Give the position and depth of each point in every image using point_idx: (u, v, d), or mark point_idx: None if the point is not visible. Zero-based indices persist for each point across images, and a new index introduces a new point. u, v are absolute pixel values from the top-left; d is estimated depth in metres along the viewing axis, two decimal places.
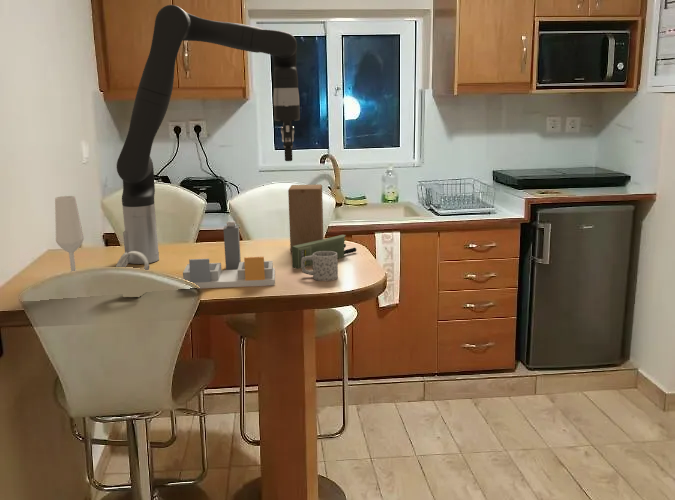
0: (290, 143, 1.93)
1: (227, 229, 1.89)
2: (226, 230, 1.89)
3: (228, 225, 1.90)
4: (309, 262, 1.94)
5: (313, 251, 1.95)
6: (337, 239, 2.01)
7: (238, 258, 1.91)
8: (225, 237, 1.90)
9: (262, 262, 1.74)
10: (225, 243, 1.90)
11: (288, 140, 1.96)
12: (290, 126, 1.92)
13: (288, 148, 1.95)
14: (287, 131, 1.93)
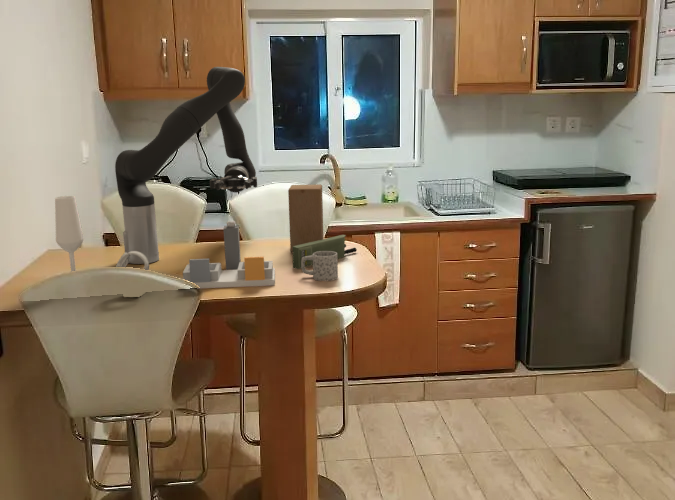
0: None
1: (227, 229, 1.89)
2: (226, 230, 1.89)
3: (228, 225, 1.90)
4: (310, 262, 1.94)
5: (314, 252, 1.95)
6: (337, 239, 2.01)
7: (238, 258, 1.91)
8: (225, 237, 1.90)
9: (262, 262, 1.74)
10: (225, 243, 1.90)
11: None
12: None
13: (251, 183, 2.04)
14: None
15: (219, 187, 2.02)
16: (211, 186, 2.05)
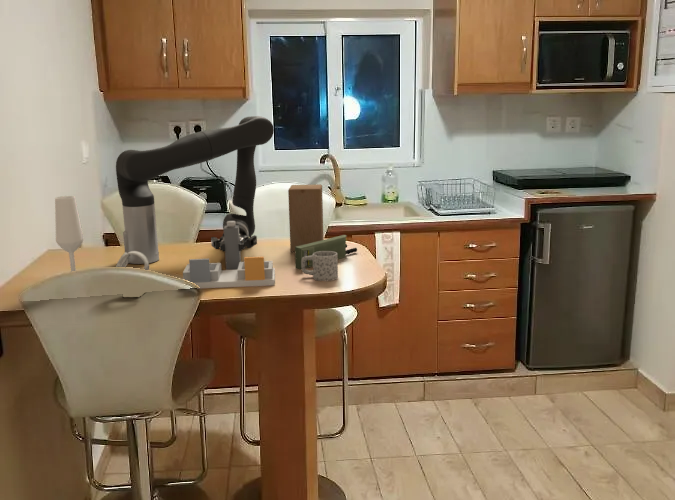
0: (250, 245, 1.95)
1: (227, 229, 1.89)
2: (226, 230, 1.89)
3: (228, 225, 1.90)
4: (312, 263, 1.93)
5: None
6: (339, 239, 2.01)
7: (238, 258, 1.91)
8: (225, 237, 1.90)
9: (262, 262, 1.74)
10: (225, 243, 1.90)
11: None
12: (256, 242, 2.00)
13: (244, 244, 1.94)
14: (254, 240, 1.98)
15: None
16: (217, 246, 1.94)
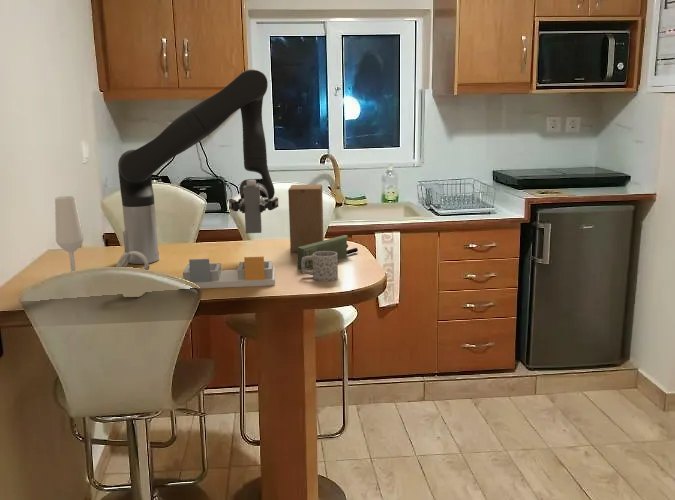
0: (272, 207, 1.79)
1: (247, 188, 1.73)
2: (246, 189, 1.73)
3: (248, 184, 1.74)
4: None
5: None
6: (340, 239, 2.00)
7: (259, 220, 1.75)
8: (245, 197, 1.74)
9: (262, 262, 1.74)
10: (245, 204, 1.74)
11: None
12: None
13: (265, 206, 1.77)
14: (276, 202, 1.82)
15: None
16: (236, 208, 1.78)
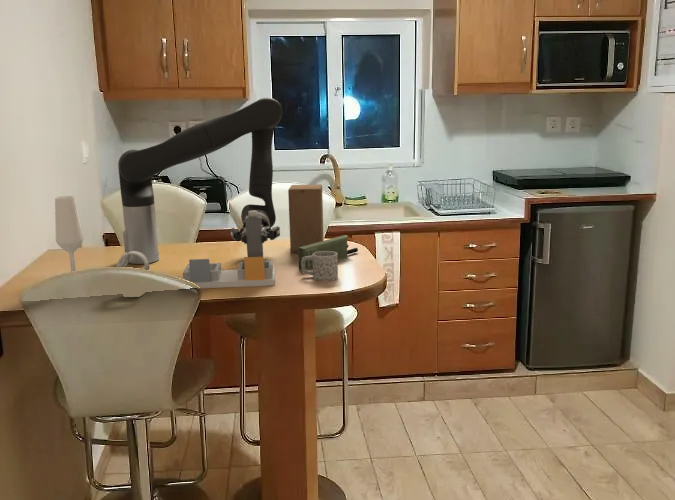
0: (273, 237, 1.81)
1: (249, 219, 1.75)
2: (248, 220, 1.75)
3: (250, 215, 1.76)
4: None
5: None
6: (341, 239, 2.00)
7: (261, 250, 1.77)
8: (247, 228, 1.75)
9: (262, 262, 1.74)
10: (247, 234, 1.76)
11: None
12: (279, 234, 1.85)
13: (267, 236, 1.79)
14: (278, 231, 1.84)
15: None
16: (238, 238, 1.80)
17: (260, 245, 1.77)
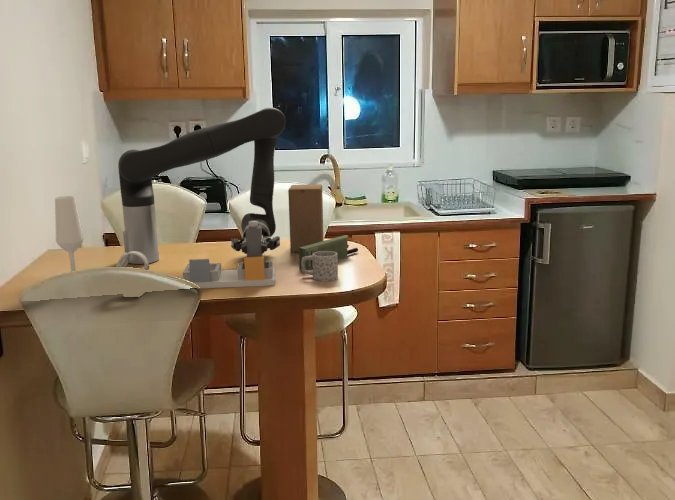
0: (273, 247, 1.81)
1: (249, 229, 1.76)
2: (248, 230, 1.76)
3: (250, 225, 1.76)
4: None
5: None
6: (341, 239, 2.00)
7: None
8: (247, 238, 1.76)
9: (262, 262, 1.74)
10: (247, 245, 1.76)
11: None
12: (279, 244, 1.86)
13: (267, 246, 1.80)
14: (278, 241, 1.84)
15: None
16: (238, 248, 1.80)
17: (260, 255, 1.77)
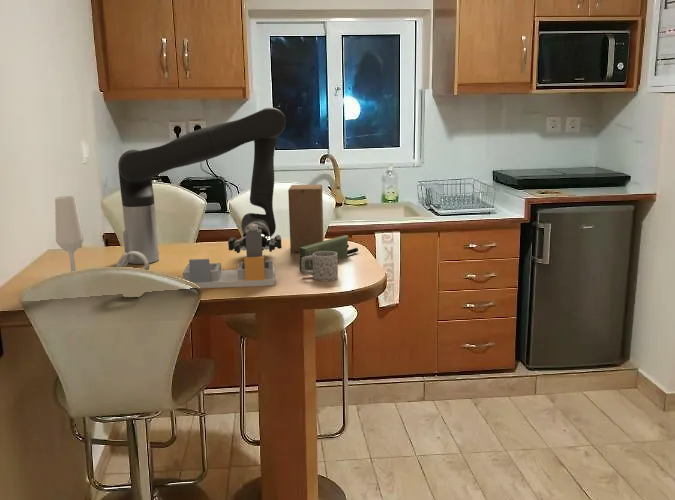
0: None
1: (249, 233, 1.76)
2: (248, 234, 1.76)
3: (250, 228, 1.77)
4: None
5: None
6: (341, 239, 2.00)
7: None
8: (247, 241, 1.76)
9: (262, 262, 1.74)
10: (247, 248, 1.77)
11: (268, 243, 1.83)
12: None
13: (275, 245, 1.81)
14: None
15: (239, 249, 1.78)
16: (230, 247, 1.81)
17: None
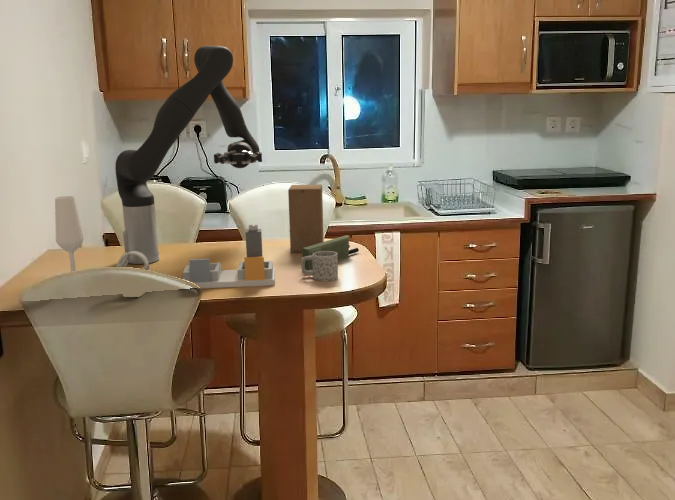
0: None
1: (249, 233, 1.76)
2: (248, 234, 1.76)
3: (250, 228, 1.77)
4: None
5: None
6: (343, 240, 2.00)
7: None
8: (247, 241, 1.76)
9: (262, 262, 1.74)
10: (247, 248, 1.77)
11: None
12: None
13: (256, 158, 2.00)
14: None
15: (223, 161, 1.97)
16: (215, 160, 2.00)
17: None
